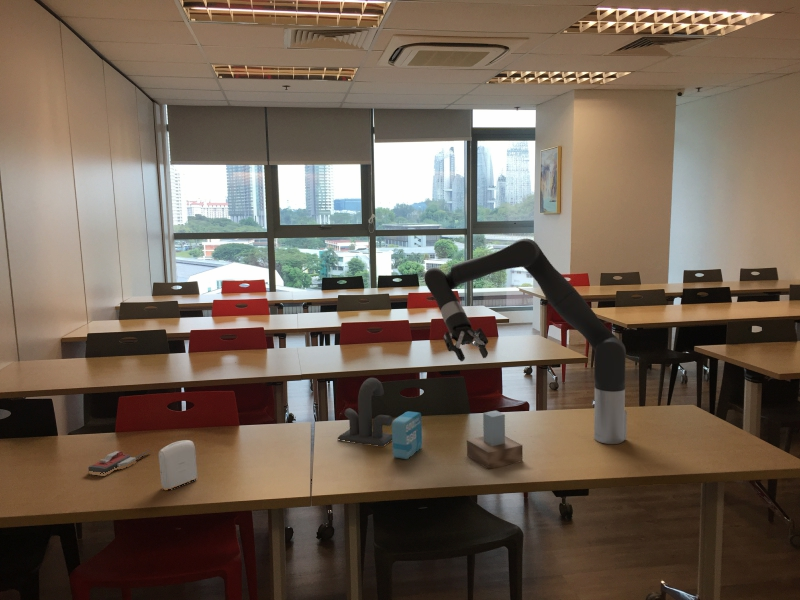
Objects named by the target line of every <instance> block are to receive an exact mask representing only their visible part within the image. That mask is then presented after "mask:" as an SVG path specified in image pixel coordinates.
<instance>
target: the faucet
mask: <svg viewBox="0 0 800 600" xmlns="http://www.w3.org/2000/svg"><path fill="white" fill-rule="evenodd" d="M384 393H385V392H384V386H383V384H382V382H381V381H380V380H379V379H378V378H375V377H369V378H366V380H364V381H363V383H362V384H361V386H360V388H359V391H358V396H357V406H358V407H357V410H358V413H357V412H356V410H354V409H352V408H351V407H348V408H346V409H345V410H344V416H345V418H346V419H348V420H349V422H348V423H349V429H348V430H346V431H345V432H343V433H341V434H340V435H339V436H338V437H337V440H338V439H340V440H345V441H350V442H355V443H354V444H357V443H362V444H361V445H364V444H371V445H378V446H384V445H385V444H387V443H388V442H390V441H391V440H392V433H386V432H383V426H386V427H388V426H389V427H390V426H392V423H393V417H392V416H391V415H385V414H379V415H376V416H375V417H374V419H373V417H372V416H373V414H372V397H373V396H374V397H381V396H383V395H384ZM350 442H349V443H350ZM391 442H392V441H391ZM391 442H390V443H391ZM388 444H389V443H388ZM388 444H387V445H388ZM371 445H370V446H371ZM378 446H377V447H378ZM384 447H385V446H384Z"/></svg>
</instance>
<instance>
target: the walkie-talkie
mask: <svg viewBox="0 0 800 600" xmlns="http://www.w3.org/2000/svg"><path fill="white" fill-rule="evenodd" d="M150 450H151V449H148V450H147V451H145V452H143V453H141V454H139V455H137V456H135V457H132V456H131V455H130V454H127V453H124V452H122V451H117V450H115V451H113V452H111V453H108V454H107V455H106V456H105V457H104V459H102V458H101V459H99V460H98V461H97V462H95V463H93V464H91V465H89V466H88V467H87V469H88V472H89V471H93V472H101V473H103V472H105V473H106V472H108V471H110V470H112V469H114V467H115V468H117V467H120V466H123V465H128V464H129V463H131V462H133V461H135V460H136V459H137V458H139V457H140V456H142V455H144V454H145V453H147V452H149V451H150ZM101 473H100V474H101ZM103 474H104V473H103Z"/></svg>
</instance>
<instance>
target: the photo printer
mask: <svg viewBox="0 0 800 600" xmlns="http://www.w3.org/2000/svg"><path fill="white" fill-rule="evenodd" d="M158 464H159V473H160V482H161V483H160V484H161V488H162V487H164V488H171V487H174V486H177V485H180V484H183V483H185V482H187V481H190V480H193V479H195V478H197V479H198V469H197V457H196V448H195V444H194V442H193V441H192V440H187V439H185V440H178V441H174V442H172V443H169V444H168V445H166V446H164V447H163V448H161V449H160V450H159V451H158Z"/></svg>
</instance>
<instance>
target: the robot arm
mask: <svg viewBox="0 0 800 600" xmlns="http://www.w3.org/2000/svg"><path fill="white" fill-rule="evenodd" d="M517 268H523V269H525V270H526V271H527V272H528V273H529V275H530V276H532V277H533V279H534V280H535V281H536V283H537V284H538V286H539V287H540V290H541V292H542V293H543V295H544V296H545V298H546V300H547V302H548V304H550V306H551V308H553V309H554V310H555V312H556V313H557V314H558V315H559V317H561V319H563V321H565V322H566V323H567V324H568V325H570V326H571V327H573V328H574V329H575V330H576V331H577V332H579V333H580V334H581V335H582V336H583V337H584V338H585V340H586V342H588V344H589V345H590V346H591V348H592V349H593V350H594V357H593V358H594V359H593V360H594V361H593V363H594V365H593V366H594V367H593V368H594V373H593V374H594V375H593V378H594V409H593V410H594V411H593V412H594V413H593V416H594V421H593V422H594V425H593V429H594V430H593V433H594V434H593V439H594V440H595V441H596V442H598V443H601V444H607V445H618V444H622V443H623V442H624V441H625V440H627V428H628V427H627V424H628V418H627V417H628V411H627V410H625V405H626V403H625V401H626V396H625V395H626V353H627V350H626V346H625V344H624V343H623V341H622V340H621V339H619V337H618V336H616V335H615V334H614V333H613V332H612V331H611V330H610V329H609V328H608V327H606V325H605V324H604V323H602V320H600V318H598V316H597V315H596V313H595V311H594V310H593V309H592V308H591V306H590V305H589V304H588V303H587V301H586V300H585V299H584V297H583V296H582V295H581V294H580V293H579V292H578V291H577V289H576V288H575V287H574V286H573V285H572V284H571V283H570V282H569V281H568V279H566V278H565V276H563V275H562V274H561V273H560V272H559V271H558V270H557V268H555V266H553V264H552V263H551V262H550V261H549V259H548V257H547V256H546V254H544V252H543V251H542V249H541V248H540V246H539V244H538V243H537V242H536V241H534V240H533V239H531V238H520V239H518V240H516V241H514V242H513V243H511V244H509V245H508V246H505V247H504V248H502V249H499V250H498V251H495V252H493V253H489V254H486V255H483V256H479V257H474V258H471V259H468V260H465V261H462V262H459V263H456V264H453V265H452V266H451V268H450V271H449V272H447V273H445V272H444V271H443V270H441V269H440V268H437V267H431V268H429V269H427V271H426V272H425V274H424V283H425V286H426V287H427V288H428V290H429V292H430V294H431V295H432V297H433V299H434V300H435V302H436V304H437V307H438V309H439V311H440V313H441V317H442V320H443V321H444V323H445V326H446V327H447V328H446V329H447V330H448V331H446V332H445V333H444V335H443V336H442V338H443V341H444V344H445V346H446V348H447V350H448V352H453V353H455V355H456V357H457V359H458V360H459V361H460V362H464V361H465V359H466V357H465V354H464V352H463V350H462V348H460V347H461V346H465V345H472V346H473V347H476V348H478V350H479V353H480V354H481V357H482V359H486V358H487V357H488V354H489V353H488V350H487V348H486V346H487V344H488V343H489V340H488V338H487V336H486V334H485V333H484V331H483V329H482V328H481V327H479V328H477V329H475V330H474V329H473V327H472V323H471V321H470V319H469V318H468V317H469V316H468V315H467V314H466V311H465V309H464V308H463V306H462V304H461V303H460V301H459V299H458V297H457V295H456V293H455V292H454V291H453V289H455V288H457V287H459V286H460V285H461V284H465V283H468V282H469V283H470V282H471V281H475V280H477V279H480V278H483V277H485V276H488V275H490V274H493V273H496V272H500V271H504V270H509V269H517ZM453 340H454V341H455V343H454V342H453Z"/></svg>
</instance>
